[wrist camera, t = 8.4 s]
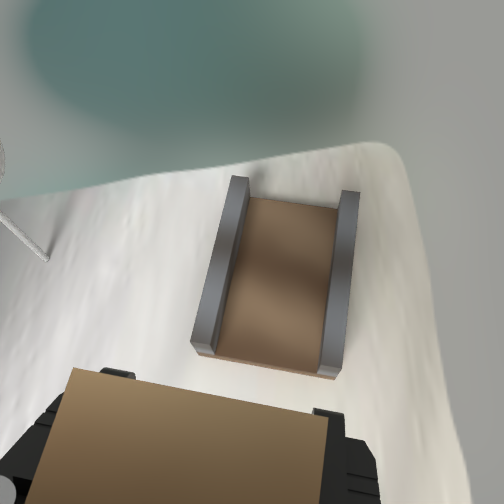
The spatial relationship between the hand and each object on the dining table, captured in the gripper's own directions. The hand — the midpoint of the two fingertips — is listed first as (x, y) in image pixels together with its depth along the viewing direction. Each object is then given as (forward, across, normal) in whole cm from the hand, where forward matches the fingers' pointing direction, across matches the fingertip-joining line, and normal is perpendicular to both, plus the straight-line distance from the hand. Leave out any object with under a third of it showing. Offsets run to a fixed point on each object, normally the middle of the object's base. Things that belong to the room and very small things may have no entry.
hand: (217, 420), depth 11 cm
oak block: (+2, 0, +4) cm, 5 cm away
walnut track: (+21, 0, +5) cm, 21 cm away
